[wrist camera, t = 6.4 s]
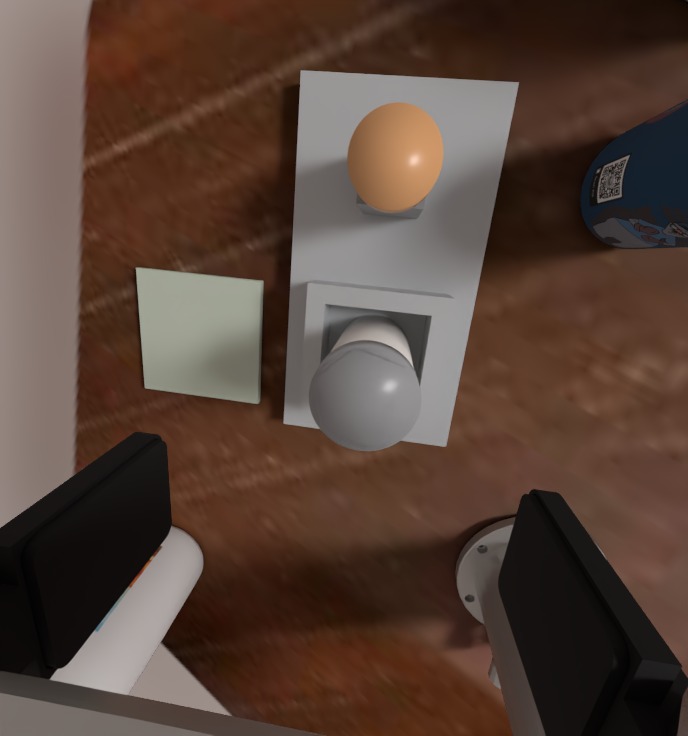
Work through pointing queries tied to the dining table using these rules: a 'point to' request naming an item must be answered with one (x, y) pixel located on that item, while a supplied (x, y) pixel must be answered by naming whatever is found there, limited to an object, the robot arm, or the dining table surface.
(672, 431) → the dining table surface
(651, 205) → the soda can
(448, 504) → the dining table surface
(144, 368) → the mat
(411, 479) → the dining table surface
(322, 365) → the cartridge
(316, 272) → the housing
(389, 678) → the dining table surface
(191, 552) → the milk bottle
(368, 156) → the brown egg
